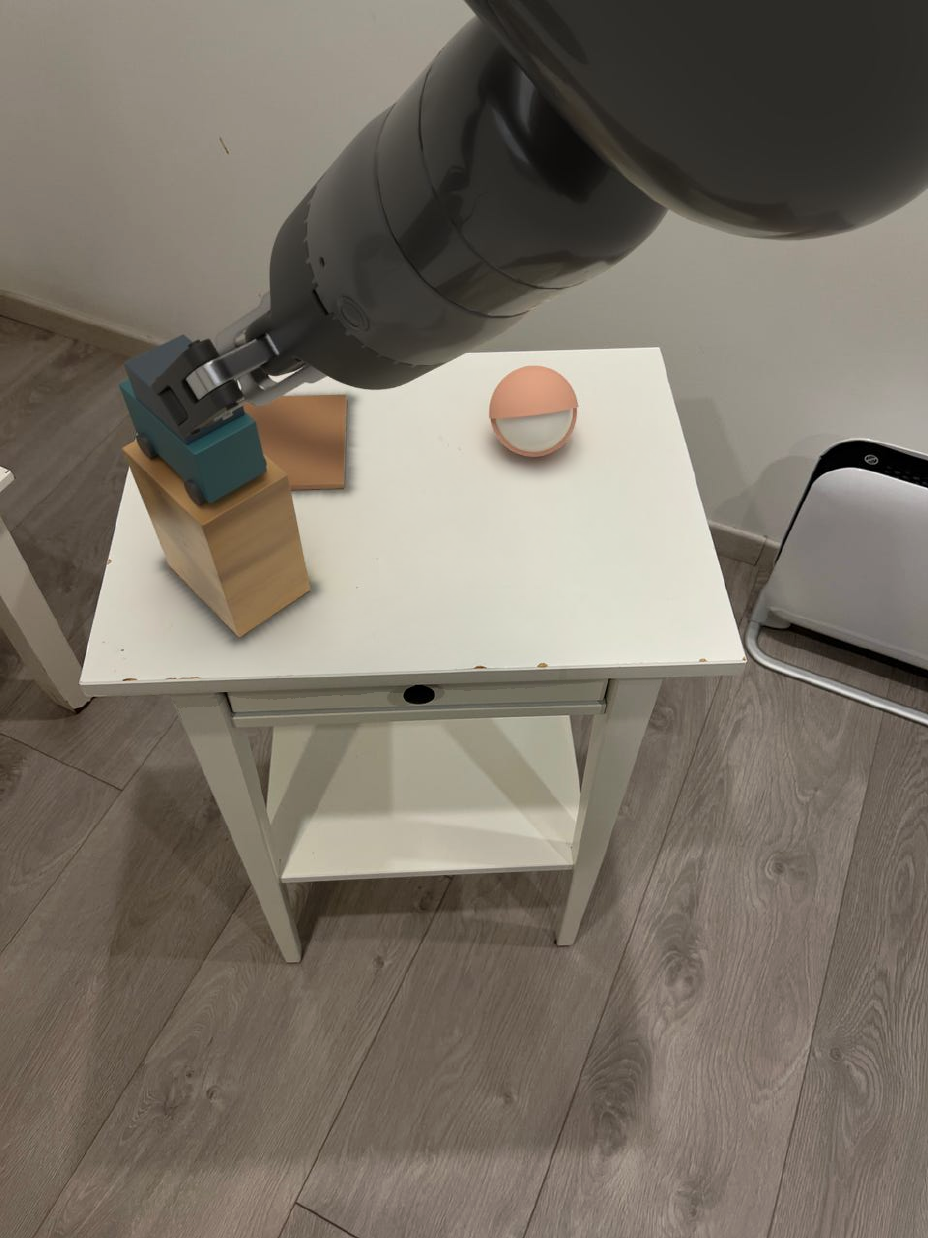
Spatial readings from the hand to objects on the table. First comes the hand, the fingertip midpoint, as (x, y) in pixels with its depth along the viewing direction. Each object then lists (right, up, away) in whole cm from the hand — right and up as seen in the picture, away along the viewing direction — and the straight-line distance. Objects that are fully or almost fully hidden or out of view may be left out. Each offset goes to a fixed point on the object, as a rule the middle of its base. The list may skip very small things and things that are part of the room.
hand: (268, 367), depth 44 cm
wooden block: (-8, -9, +27) cm, 30 cm away
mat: (-7, +4, +36) cm, 37 cm away
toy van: (-8, -2, +16) cm, 18 cm away
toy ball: (+16, +3, +37) cm, 41 cm away
